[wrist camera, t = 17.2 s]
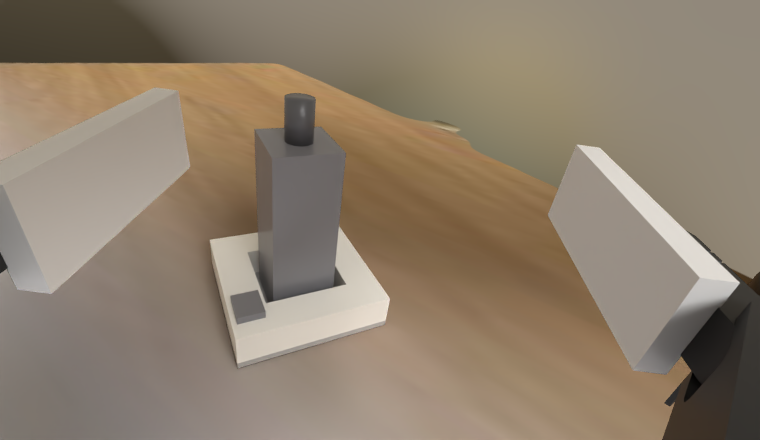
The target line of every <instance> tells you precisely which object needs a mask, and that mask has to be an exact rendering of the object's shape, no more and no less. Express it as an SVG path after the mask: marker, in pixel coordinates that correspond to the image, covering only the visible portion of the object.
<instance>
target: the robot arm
mask: <svg viewBox="0 0 760 440" xmlns="http://www.w3.org/2000/svg"><path fill="white" fill-rule="evenodd" d="M189 168H190V163H189V156H188V150H187V143H186V137H185V131H184V124H183V118H182V111H181V105H180V99H179V92H178V91H177V90H169V89H162V88H153V89H151V90H149V91H147V92H144V93H142V94H140V95H138V96H136V97H134V98H132V99H130V100H128V101H126V102H123V103H121V104H119V105H117V106H115V107H113V108H111V109H109V110H107V111H104V112H102V113H100V114H98V115H96V116H94V117H92V118H90V119H88V120H86V121H83V122H81V123H79V124H77V125H75V126H73V127H71V128H69V129H67V130H64V131H62V132H60V133H58V134H56V135H54V136H52V137H50V138H48V139H46V140H43V141H41V142H39V143H37V144H35V145H33V146H31V147H29V148H27V149H25V150H22V151H20V152H18V153H16V154H14V155H12V156H10V157H8V158H6V159H3V160H1V161H0V273H1V272H3V271H4V270H5V269H7V270H8V272H9V274H10V276H11V278H12V280H13V282H14V284H15V286H16V288H17V290H24V291H32V292H40V293H47V294H52V293H53V292H54V291H56V290H57V289H58V288H59V287H60V286H61V285H62V284H63V283H64V282H65V281H66V280H68V279H69V278H70V277H71V276H72V275H73V274H74V273H75V272H76V271H77V270H79V269H80V268H81V267H82V266H83V265H84V264H85V263H86V262H87V261H88V260H89V259H91V258H92V257H93V256H94V255H95V254H96V253H97V252H98V251H99V250H100V249H101V248H103V247H104V246H105V245H106V244H107V243H108V242H109V241H110V240H111V239H112V238H114V237H115V236H116V235H117V234H118V233H119V232H120V231H121V230H122V229H123V228H124V227H126V226H127V225H128V224H129V223H130V222H131V221H132V220H133V219H134V218H135V217H137V216H138V215H139V214H140V213H141V212H142V211H143V210H144V209H145V208H146V207H147V206H149V205H150V204H151V203H152V202H153V201H154V200H155V199H156V198H157V197H158V196H160V195H161V194H162V193H163V192H164V191H165V190H166V189H167V188H168V187H169V186H170V185H172V184H173V183H174V182H175V181H176V180H177V179H178V178H179V177H180V176H181V175H182V174H184V173H185V172H186V171H187V170H188V169H189ZM548 217H549V218H550V220H551V222H552V224H553V226H554V228H555V229H556V231H557V233H558V235H559V237H560V238H561V240H562V242H563V244H564V246H565V248H566V249H567V251H568V253H569V255H570V257H571V258H572V260H573V262H574V264H575V266H576V268H577V269H578V271H579V273H580V275H581V277H582V278H583V280H584V282H585V284H586V286H587V288H588V289H589V291H590V293H591V295H592V297H593V299H594V300H595V302H596V304H597V306H598V308H599V309H600V311H601V313H602V315H603V317H604V319H605V320H606V322H607V324H608V326H609V328H610V329H611V331H612V333H613V335H614V337H615V339H616V340H617V342H618V344H619V346H620V348H621V349H622V351H623V353H624V355H625V357H626V359H627V360H628V362H629V364H630V366H631V368H632V369H633V370H635V371H643V372H650V373H658V374H667V373H668V372H669V371H670V370H671V368H672V367H673V366H674V365H675V363H676V362H677V361H678V360H679V358H680V357H681V356H682V358H683V359H684V361H685V362H686V363H687V365H688V366H689V368H690V369H691V372H690V373H689V375H688V376H687V377H686V378H685V379H684V380H683V382H682V383H681V384H680V385H679V386H678V387H677V389H676V390H675V391H674V392H673V393H672V394H671V396H670V397H669V398H668V399H667V400H666V402H665V404H667V405H668V406H671V405H672V404H673V403H674V402H675V404H674V407H673V410H672V413H671V416H670V419H669V422H668V425H667V427H666V430H665V433H664V436H663V439H662V440H760V272H759V273H758V274H757V275H756V276H755V277H754V278H753V279H752V281H751V282H750V283H749V284H748V285H747V284H746V283H745V282H744V281H743V280H742V279H741V278H740V277H738V276H737V275H736V274H735V273H734V272H733V271H732V270H731V269H730V268H729V267H728V266H727V265H726V264H724V263H722V260H721V259H719V258H718V257H717V256H716V255H715V254H714V253H711V252H710V251H711V250H710V249H709V248H708V247H707V246H706V245H705V244H704V243H703V242H702V241H700V240H699V239H698V238H697V237H696V236H694V235H692V234H691V233H689V232H688V231H686V230H685V229H683V228H682V227H681V226H680V225H679V224H678V223H677V222H676V221H675V220H674V219H673V218H672V217H671V216H670V215H669V214H668V213H667V212H666V211H665V210H664V209H663V208H662V207H661V206H660V205H659V204H657V203H656V202H655V201H654V200H653V199H652V198H651V197H650V196H649V195H648V194H647V193H646V192H645V191H644V190H643V189H642V188H641V187H640V186H639V185H638V184H637V183H636V182H635V181H634V180H632V179H631V178H630V177H629V176H628V175H627V174H626V173H625V172H624V171H623V170H622V169H621V168H620V167H619V166H618V165H617V164H616V163H615V162H614V161H613V160H612V159H611V158H610V157H609V156H608V155H606V154H605V153H604V152H603V151H602V150H601V149H600V148H598V147H590V146H583V145H576V147H575V150H574V152H573V154H572V157H571V159H570V162H569V165H568V167H567V169H566V172H565V174H564V177H563V179H562V181H561V184H560V186H559V189H558V191H557V194H556V196H555V199H554V201H553V204H552V206H551V208H550V211H549V213H548Z"/></svg>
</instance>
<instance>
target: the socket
mask: <svg viewBox="0 0 760 440" xmlns="http://www.w3.org/2000/svg"><path fill="white" fill-rule="evenodd" d="M210 247H211V256H212V265H213V270H214V274H215V278H216V282H217V286H218V290H219V294H220V298H221V302H222V306H223V310H224V314H225V318H226V322H227V326H228V330H229V334H230V339H231V343H232V347H233V351H234V355H235V359H236V363H237V367H238V368H240V367H244V366H247V365H250V364H254V363H257V362H261V361H264V360H267V359H271V358H274V357H277V356H281V355H284V354H287V353H291V352H294V351H298V350H301V349H304V348H308V347H311V346H314V345H318V344H321V343H325V342H328V341H331V340H335V339H338V338H341V337H345V336H348V335H351V334H355V333H358V332H362V331H365V330H368V329H372V328H375V327H378V326H382V325H385V321H386V316H387V311H388V306H389V301H390V298H389V297H388V295H387V294H386V292H385V291H384V289H383V288H382V287H381V285H380V284H379V282H378V281H377V279H376V278H375V277H374V275H373V274H372V272H371V271H370V270H369V268H368V267H367V265H366V264H365V262H364V261H363V260H362V258H361V257H360V255H359V254H358V252H357V251H356V250H355V248H354V247H353V245H352V244H351V242H350V241H349V240H348V238H347V237H346V235H345V234H344V233H343V231H342V230H341V228H340V227H339V231H338V241H337V251H336V262H335V272H334V283H333V288H329V289H325V290H321V291H316V292H312V293H308V294H303V295H299V296H295V297H291V298H286V299H282V300H278V301H274V302H269V303H268V300H267V298H266V295H265V292H264V289H263V287H262V284H261V281H260V278H259V250H258V233H251V234H245V235H238V236H232V237H225V238H219V239H212V240H210Z"/></svg>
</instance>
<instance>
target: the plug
mask: <svg viewBox="0 0 760 440" xmlns="http://www.w3.org/2000/svg"><path fill="white" fill-rule="evenodd" d="M315 103H316V99H315V97H313V96H311V95H307V94H301V93H291V94H287V95H285V118H284V128H272V129H254V130H255V160H256V190H257V220H258V250H259V278H260V281H261V284H262V287H263V289H264V292H265V295H266V298H267V300H268V303H269V302H274V301H278V300H282V299H286V298H291V297H295V296H299V295H303V294H308V293H312V292H316V291H321V290H325V289H329V288H333V283H334V272H335V262H336V251H337V241H338V231H339V220H340V210H341V199H342V189H343V178H344V168H345V158H346V153H345V152H344V150H343V149H342V148H341V147H340V146H339V145H338V144H337V143H336V142H335V141H334V140H333V139H332V138H331V137H330V136H329V135H328V134H327V133H326V132H325V130H324V129H323V128H322V127H314V123H315Z"/></svg>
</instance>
